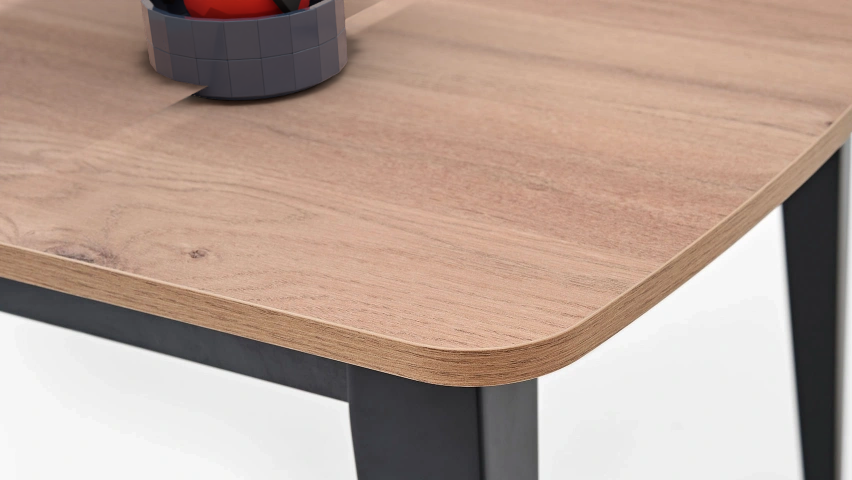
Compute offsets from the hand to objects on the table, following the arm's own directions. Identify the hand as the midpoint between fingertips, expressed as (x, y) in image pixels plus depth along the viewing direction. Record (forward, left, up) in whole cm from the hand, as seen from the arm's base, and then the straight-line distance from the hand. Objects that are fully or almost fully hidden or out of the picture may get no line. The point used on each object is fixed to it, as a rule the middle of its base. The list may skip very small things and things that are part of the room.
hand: (220, 0), depth 84 cm
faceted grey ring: (0, +3, -6) cm, 7 cm away
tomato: (0, +3, -4) cm, 5 cm away
